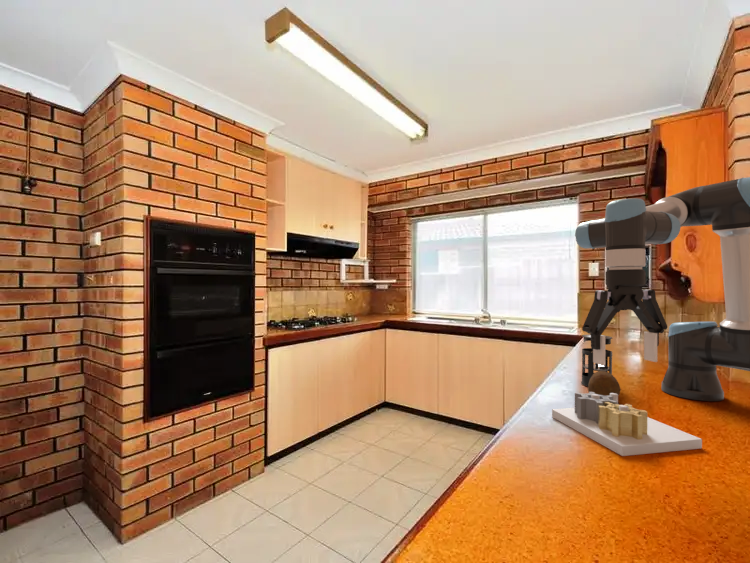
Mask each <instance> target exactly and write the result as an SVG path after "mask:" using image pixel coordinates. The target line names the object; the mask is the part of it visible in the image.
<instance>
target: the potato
mask: <svg viewBox="0 0 750 563" xmlns="http://www.w3.org/2000/svg"><path fill="white" fill-rule="evenodd" d="M620 386H621V385H620V383H619V381H618V380H617V378H616V377H615V376H614V375H613V373H612V374H610V373H609V371H608V372H606V371H595V372H594V374H593V375H592V377H591V378H590V380H589V384H588V387H587V391H588V392H587V393H589V392H594V393H595V394H599V395H603V396H607V395H610V393H616V394H618V397H619V396H620V394H621V391H622V389H621V387H620Z"/></svg>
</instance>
